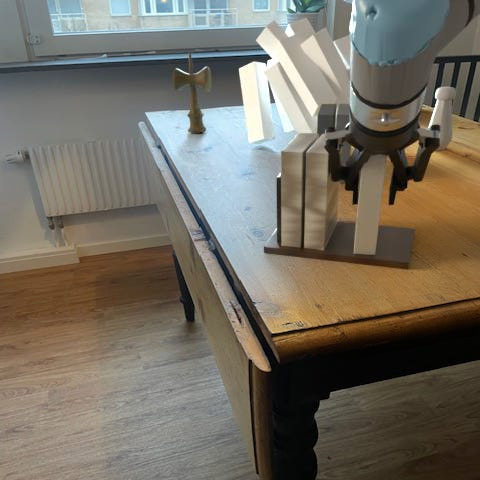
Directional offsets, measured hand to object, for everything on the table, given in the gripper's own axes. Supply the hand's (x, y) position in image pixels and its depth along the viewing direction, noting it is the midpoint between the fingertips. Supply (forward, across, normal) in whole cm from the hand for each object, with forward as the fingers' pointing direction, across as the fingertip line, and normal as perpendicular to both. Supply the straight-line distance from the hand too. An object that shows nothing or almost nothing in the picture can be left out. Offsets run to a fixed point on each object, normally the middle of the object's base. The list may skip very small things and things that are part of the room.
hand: (373, 196), depth 75 cm
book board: (+2, -4, -7) cm, 8 cm away
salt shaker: (+41, +15, +31) cm, 53 cm away
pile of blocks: (+45, -15, +35) cm, 59 cm away
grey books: (+25, -8, +16) cm, 31 cm away
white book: (+1, -1, -6) cm, 7 cm away
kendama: (+51, -48, +41) cm, 81 cm away
